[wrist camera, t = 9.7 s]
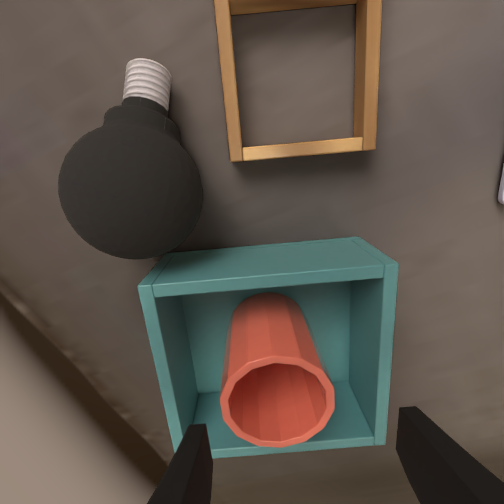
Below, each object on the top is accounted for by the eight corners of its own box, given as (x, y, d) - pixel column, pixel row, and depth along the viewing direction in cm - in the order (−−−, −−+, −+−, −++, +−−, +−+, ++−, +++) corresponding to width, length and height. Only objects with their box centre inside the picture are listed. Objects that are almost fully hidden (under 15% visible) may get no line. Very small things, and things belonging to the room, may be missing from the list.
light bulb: (185, -4, 11) (158, 260, 10) (227, 98, 17) (212, 265, 17) (40, 10, 12) (8, 248, 11) (130, 100, 18) (112, 258, 18)
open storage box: (359, 236, 18) (399, 263, 14) (354, 381, 22) (386, 445, 17) (165, 252, 18) (136, 286, 14) (191, 395, 22) (176, 462, 17)
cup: (305, 287, 19) (334, 350, 13) (308, 357, 20) (335, 443, 14) (223, 295, 19) (213, 361, 13) (233, 364, 20) (228, 453, 14)
